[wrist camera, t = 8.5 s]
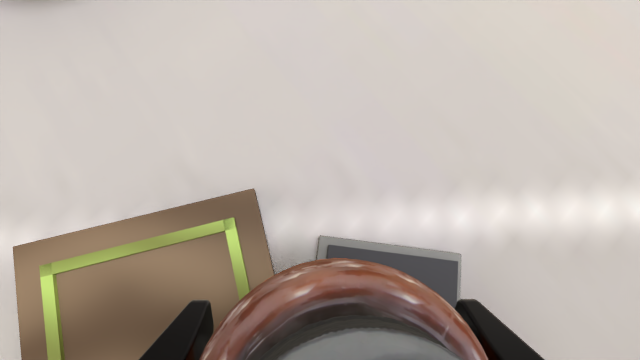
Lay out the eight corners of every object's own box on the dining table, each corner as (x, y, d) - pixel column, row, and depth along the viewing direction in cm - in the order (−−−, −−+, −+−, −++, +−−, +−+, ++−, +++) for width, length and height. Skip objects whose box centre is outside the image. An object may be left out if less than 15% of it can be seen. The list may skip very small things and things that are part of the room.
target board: (310, 431, 19) (311, 438, 18) (43, 518, 18) (30, 531, 17) (254, 190, 22) (253, 187, 21) (20, 247, 21) (8, 246, 20)
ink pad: (450, 407, 20) (463, 418, 18) (300, 389, 20) (300, 399, 18) (455, 254, 22) (467, 253, 20) (319, 236, 22) (320, 234, 20)
